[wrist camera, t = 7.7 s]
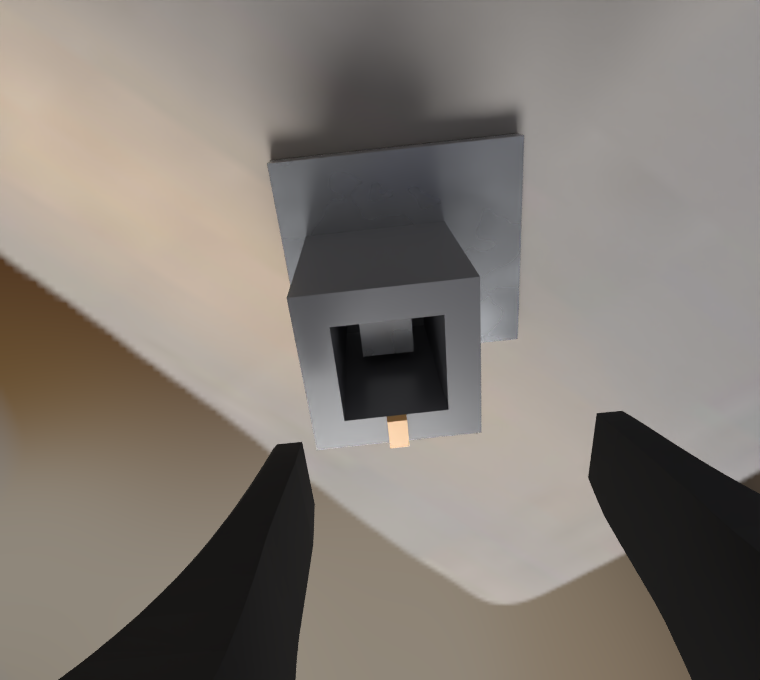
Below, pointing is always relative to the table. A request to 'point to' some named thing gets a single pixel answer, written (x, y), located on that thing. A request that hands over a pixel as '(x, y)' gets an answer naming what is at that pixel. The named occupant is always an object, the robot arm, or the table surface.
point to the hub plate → (417, 207)
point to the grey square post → (386, 337)
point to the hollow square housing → (386, 303)
